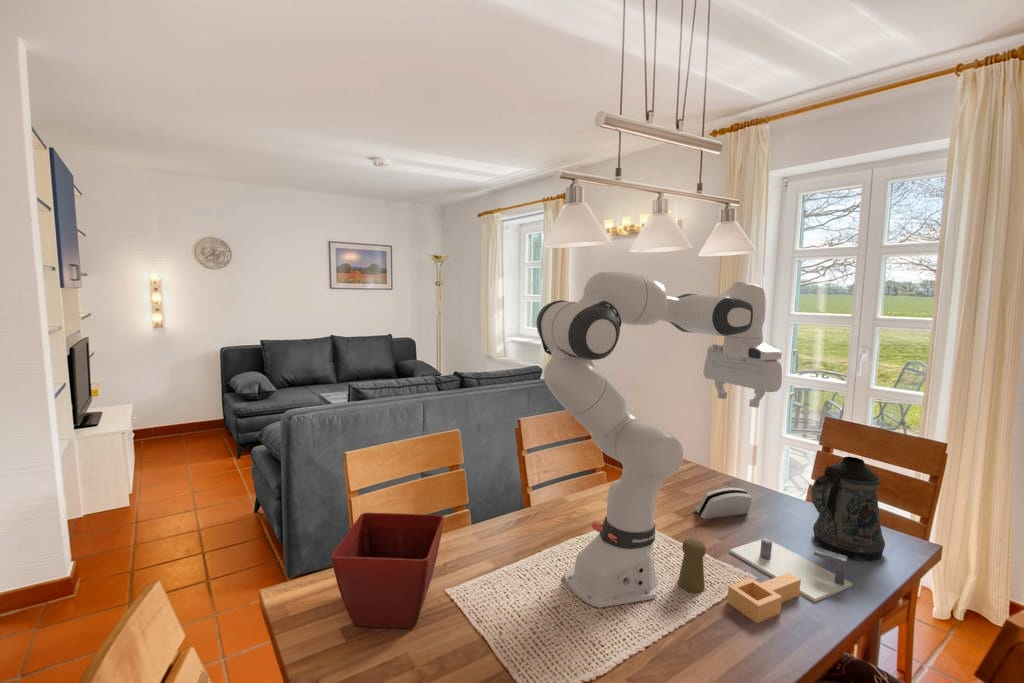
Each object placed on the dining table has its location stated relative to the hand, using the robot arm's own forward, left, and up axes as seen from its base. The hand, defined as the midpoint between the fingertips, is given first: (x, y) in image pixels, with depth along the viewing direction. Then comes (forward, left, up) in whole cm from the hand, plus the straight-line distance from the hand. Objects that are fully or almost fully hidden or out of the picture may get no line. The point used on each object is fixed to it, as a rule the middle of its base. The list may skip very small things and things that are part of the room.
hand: (737, 402), depth 125 cm
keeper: (+15, -18, -42) cm, 48 cm away
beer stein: (+35, -10, -42) cm, 56 cm away
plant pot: (-84, +16, -42) cm, 95 cm away
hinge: (+21, +18, -42) cm, 50 cm away
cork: (-18, -5, -42) cm, 46 cm away
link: (-6, -17, -42) cm, 46 cm away
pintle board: (+11, -10, -42) cm, 44 cm away
